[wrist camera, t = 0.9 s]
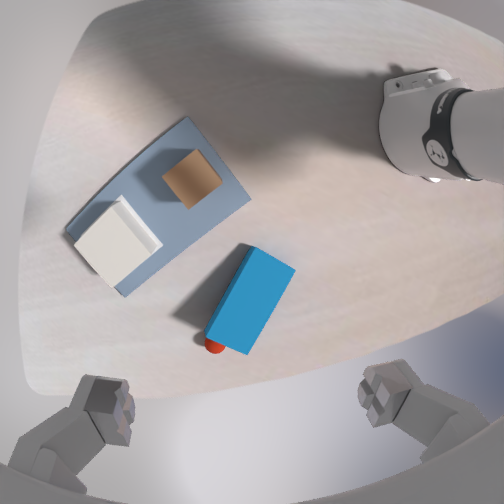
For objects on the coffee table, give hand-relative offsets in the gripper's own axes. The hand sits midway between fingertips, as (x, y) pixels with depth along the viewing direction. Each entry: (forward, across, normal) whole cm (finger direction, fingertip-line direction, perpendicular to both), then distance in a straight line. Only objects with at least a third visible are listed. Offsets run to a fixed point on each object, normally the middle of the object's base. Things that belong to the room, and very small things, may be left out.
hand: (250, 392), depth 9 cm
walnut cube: (+32, +4, -4) cm, 32 cm away
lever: (+33, -3, +15) cm, 36 cm away
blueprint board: (+32, +10, +1) cm, 34 cm away
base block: (+32, +15, +4) cm, 35 cm away
